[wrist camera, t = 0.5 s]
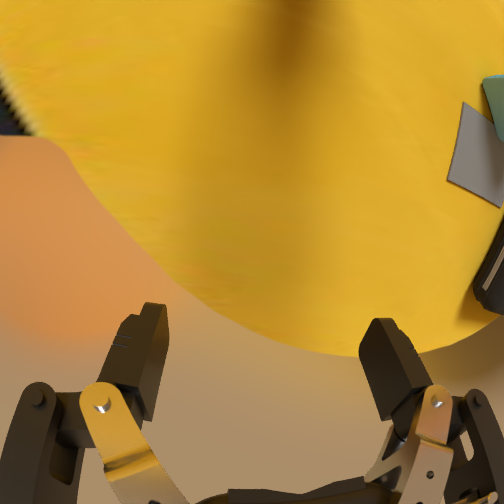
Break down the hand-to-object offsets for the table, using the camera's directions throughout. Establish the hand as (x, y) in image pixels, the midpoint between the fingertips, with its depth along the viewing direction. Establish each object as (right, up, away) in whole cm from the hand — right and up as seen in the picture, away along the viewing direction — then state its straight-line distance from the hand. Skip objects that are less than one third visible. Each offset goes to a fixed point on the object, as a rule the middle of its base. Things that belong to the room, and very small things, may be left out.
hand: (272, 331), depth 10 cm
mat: (+41, +19, +22) cm, 50 cm away
